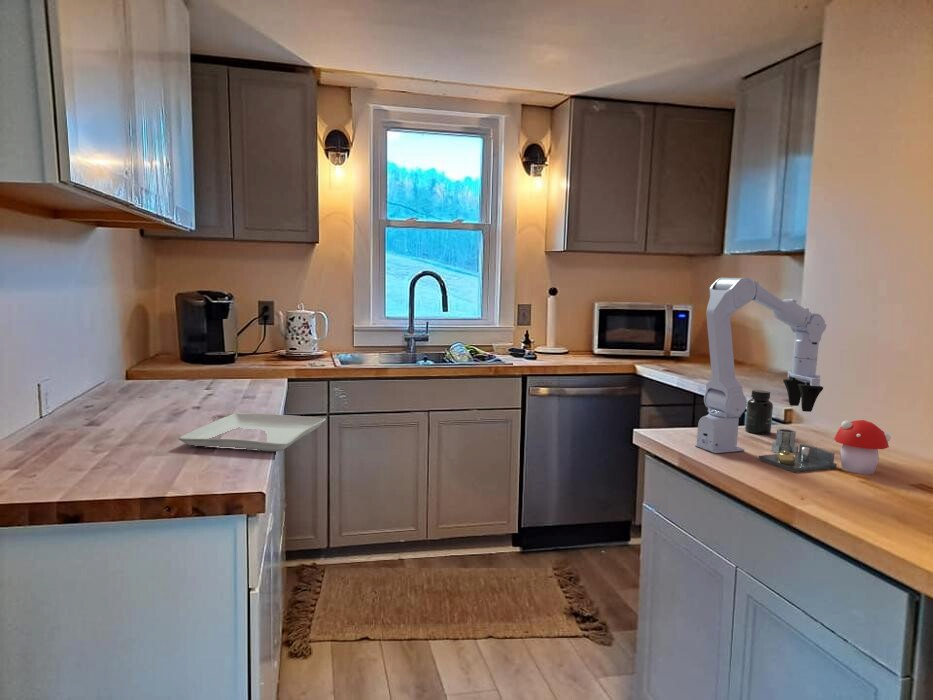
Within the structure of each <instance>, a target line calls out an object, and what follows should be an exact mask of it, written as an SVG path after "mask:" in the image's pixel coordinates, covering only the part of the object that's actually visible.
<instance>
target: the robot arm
mask: <svg viewBox="0 0 933 700" xmlns="http://www.w3.org/2000/svg"><path fill="white" fill-rule="evenodd" d="M708 288H709V300H708V303H707V307H706V314H705V315H706V324H707V337H708V348H709V358H710V359H709V360H710V371H711V379H710V380H709V381H707V382H706V383H705V393H704V396H703V402H704V405H705V407H706V408H707V412H708V414H706V415H704V416H702V417H700V419H699V420H698V424H697V435H696V442H695V443H694V446H695V447H698V448H700V449H703V450H705V451H709V452H711V453H714V454H723V453H733V452H744V451H745V448H744V447H740V446H738V445H737V444H738V434H739V433H738V432H739V421H740V420H739V418H741V417H742V415H743V413H744V412H746V411H745V410H747V402H748V401H747V398H746V395H745V394H744V392H743V386H742V385H741V382H739V381H738V379H737V378H736V373H735V369H736V368H735V360H734V348H733V346H734V345H733V336H732V323H731V317H732V316H733V315H734V314H735V312H737V311H738V310H739V309H742V308H743V307H745V306H746V305H747V304H749V303H751V302H752V301H753V302H755V303H756V304H759V305H760V306H762V307H765V308H766V309H768V310H770V311H772V312H773V316H774V318H775V319H776V320H779V321H780V322H782V323H783V324H786V325H787V326H789V327H790V330H791V331H792V333H794V341H793V343H794V344H793V353H792V363H791V370H788V371H787V379H785V378H783V380H782V381H783V384H784V385H785V389H786V392H787V397H788V403H789V406H790V407H791V406H794V407H799V405H801V406H800V407H801V411H802V412H804V413H805V412H807V413H808V412H810V413H812V411H813V409H814V407H815V404H816V401H817V399H818V397H819V395H820V394H821V392H822V391H823V390H824V386H821V384H820V383H821V375H820V374H817V365H818V358H819V357H818V355H819V346H820V345H819V344H820V342H821V340H822V335H823V333H824V332H825V330H826V328H827V324H826V321H825V319H824V317H823V316H822V315H821V314H819V313H816V312H815V313H813V312H811V311H810V309H809V308H808V307H803V306H802V305H800V304H798V303H797V300H796V299H794V298H785V299H781V298H779V297H778V296H776V295H775V294H774V293H772V292H771V291H769V290H767V289H766V288H764V286H762V285H760V282H759V281H755V280H753V278H750V277H725V276H723V277H720V278H717V279H716V280H715V281H714V282H713V283H712V284H711V286H710V287H708Z"/></svg>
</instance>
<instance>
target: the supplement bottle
mask: <svg viewBox="0 0 933 700" xmlns="http://www.w3.org/2000/svg"><path fill="white" fill-rule="evenodd" d="M750 396H751V398H750V399H749V400H748V401H747V406H746V411H745V412H746V414H745V415H746V416H745V426H744V427H745V428H744V429H745V431H746V432H748V433H750V432H751V434H755V433H756V434H758V435H770V434H771V432H772V421H773V409H774V404H773V402H772V401H771V400H770V399H771V392H770V391H768V390H761V389H753V390H751V395H750Z"/></svg>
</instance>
